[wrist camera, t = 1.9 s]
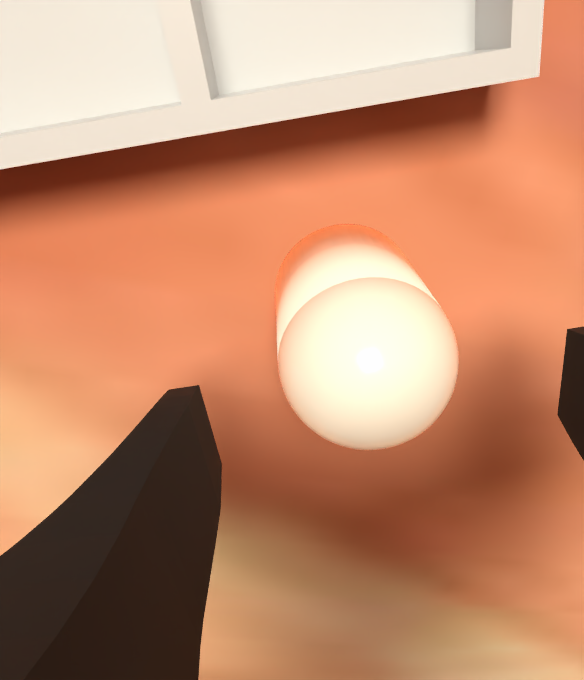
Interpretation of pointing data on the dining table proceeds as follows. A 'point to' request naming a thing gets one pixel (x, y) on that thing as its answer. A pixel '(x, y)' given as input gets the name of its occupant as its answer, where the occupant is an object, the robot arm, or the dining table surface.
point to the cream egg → (361, 340)
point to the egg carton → (236, 64)
